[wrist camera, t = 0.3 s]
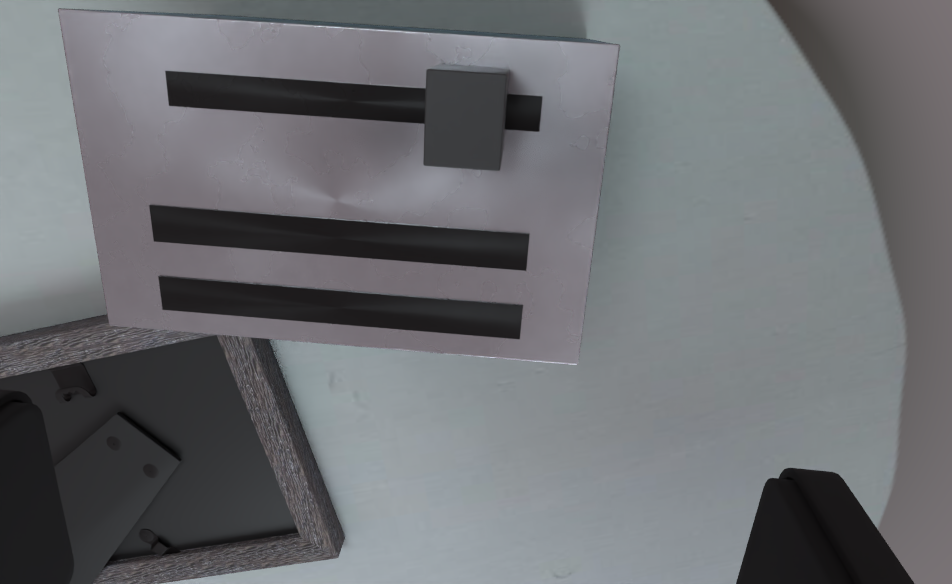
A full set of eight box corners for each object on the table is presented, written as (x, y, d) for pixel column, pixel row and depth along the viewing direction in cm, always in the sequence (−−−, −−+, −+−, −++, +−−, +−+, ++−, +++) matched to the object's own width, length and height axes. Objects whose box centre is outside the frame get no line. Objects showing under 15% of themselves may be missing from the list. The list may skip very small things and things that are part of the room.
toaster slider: (438, 63, 19) (425, 68, 16) (509, 68, 19) (507, 74, 16) (434, 149, 20) (423, 166, 17) (502, 154, 19) (500, 171, 17)
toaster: (210, 14, 28) (55, 8, 19) (588, 38, 28) (620, 44, 18) (229, 239, 32) (107, 326, 23) (562, 265, 31) (578, 366, 22)
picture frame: (28, 584, 41) (345, 537, 38) (4, 610, 40) (336, 563, 36) (-110, 360, 36) (247, 284, 33) (-145, 378, 34) (230, 299, 31)
